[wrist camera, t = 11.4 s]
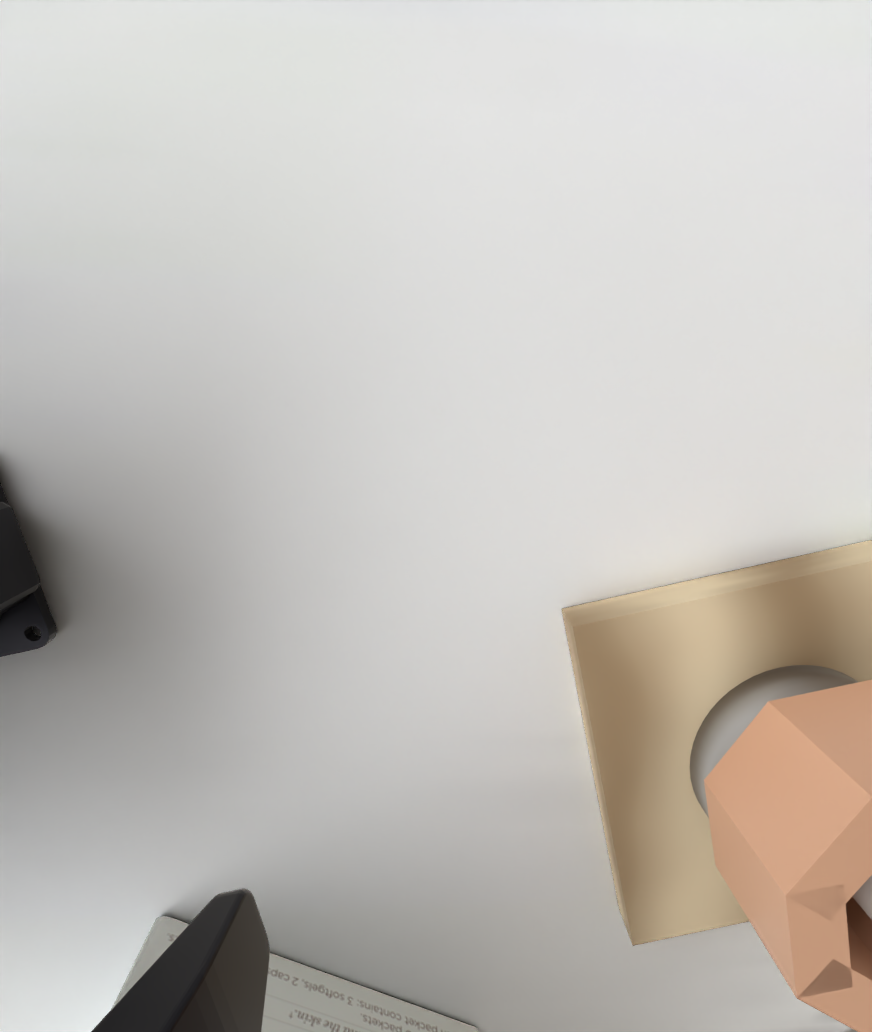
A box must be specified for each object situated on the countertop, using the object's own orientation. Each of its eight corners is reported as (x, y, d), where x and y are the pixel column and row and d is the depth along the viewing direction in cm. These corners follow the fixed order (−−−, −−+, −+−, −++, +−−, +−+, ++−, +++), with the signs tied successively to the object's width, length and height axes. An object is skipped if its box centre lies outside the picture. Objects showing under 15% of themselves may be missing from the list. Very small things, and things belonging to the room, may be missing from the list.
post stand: (619, 908, 23) (735, 1216, 14) (561, 608, 20) (663, 772, 12) (944, 840, 22) (1254, 1113, 14) (928, 527, 20) (1299, 635, 11)
